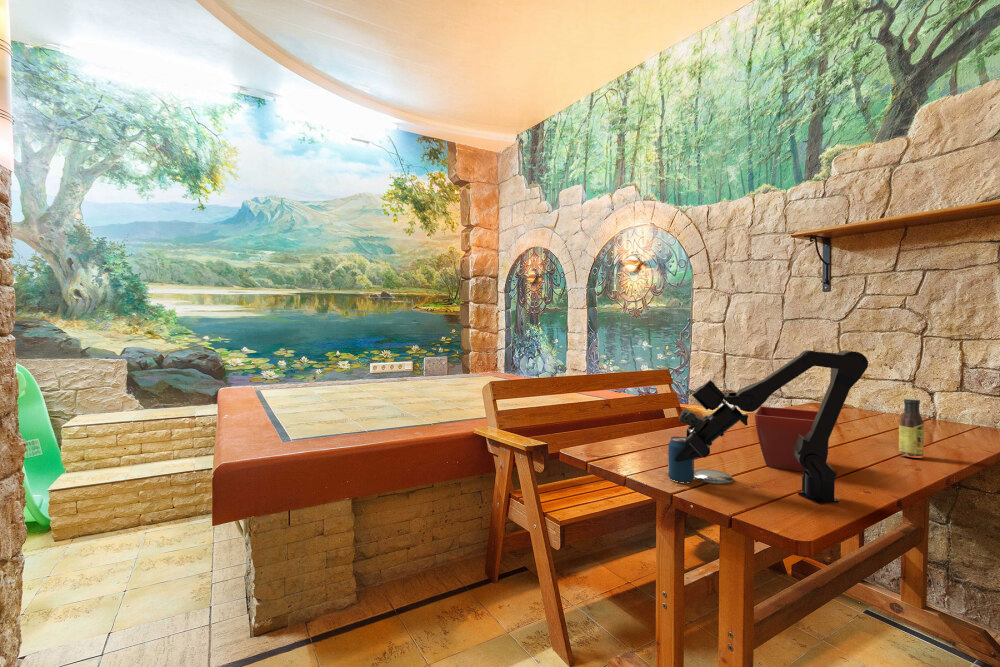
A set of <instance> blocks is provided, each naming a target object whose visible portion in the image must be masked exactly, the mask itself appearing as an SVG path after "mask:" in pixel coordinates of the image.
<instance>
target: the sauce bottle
mask: <svg viewBox="0 0 1000 667" xmlns="http://www.w3.org/2000/svg"><path fill="white" fill-rule="evenodd" d="M903 403H904V407H903V408H904V409H903V410H904V411H903V413H902V414H900V417H899V425H898V453H899V452H900V453H902V454H905V455H909V456H924V442H925V441H924V439H925V438H924V437H925V423H924V420H923V418H922V416H921V413H920V404H921V400H920V399H919V398H904V399H903Z"/></svg>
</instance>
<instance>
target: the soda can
mask: <svg viewBox="0 0 1000 667" xmlns="http://www.w3.org/2000/svg"><path fill="white" fill-rule="evenodd" d="M686 437H687V436H672V437H670V440H669V442H668V450H667V451H668V454H667V456H668V457H667V458H668V462H667V466H668V467H667V475H668V477H669V479H670V480H671V479H672V480H675V481H678V482H684V483H687V482H691V483H692V482H693V481H694V480H695V479H694V470H695V458H694V459H689V460H685V461H680V462H676V461H675V460H674V459H675V457H676V456H677V455H678V454H679V453H680V451H681V450H682V449H683V448H684V447H685V445H686ZM672 480H671V481H672Z"/></svg>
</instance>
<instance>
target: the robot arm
mask: <svg viewBox="0 0 1000 667" xmlns="http://www.w3.org/2000/svg"><path fill="white" fill-rule="evenodd" d="M812 367H820V368H828V369H830V381H829V384H828V387H827V388H826V392H825V394H824V396H823V399H822V401H821V402H820V406H819V408H818V410H817V411H818V413H817V415H816V417H815V420H814V422H813V425H812V427H811V429H810V431H809V433H808V434H807V435H806V436H805V437H803V436H801V435H798V438H797V443H796V444H795V445H794V446H793V449H794V450H795V452H794V454H795V457H796V459H797V460H798V462H799V463H800V464H801V466H802V467H803V468H804V469H806V470H807V471H803V472H802V476H801V491H799V492H797V495H798V496H800V497H803V498H805V499H807V500H809V501H812V502H814V503H816V504H819V505H821V504H823V505H824V504H831V503H840V499H838V498H836V497H835V488H836V487H835V485H836V481H835V480H836V478H837V475H838V473H837V472H836V471H835V470H834V468H832V467H831V466H830V465H829V463H828V462H827V460H828V454H829V441H830V437H831V435H832V434H833V433H832V432H833V430H834V428H835V425H836V423H837V420H838V419H839V416H840V414H841V411H842V409H843V406H844V404H845V402H846V400H847V397H848V395H849V393H850V390H851V389H852V388H853V386H854V385H855V384H856V383H857V382H858V381H859V380H860V379H862V378H861V377H863V375H864V373H865V372H866V371H867V369H868V367H869V360H868V359H867V357H866V356H865V355H864V354H863V353H861V352H858V351H854V350H849V349H848V350H841V351H838V352H835V353H834V352H827V351H826V352H825V351H815V350H812V349H811V350H810V349H808V350H807V349H806V350H804V351H802V352H800V354H799V355H796V357H794V358H793V359H791V360H790V361H788V362H787V363H785V364H784V365H782V366H781V367H780V368H778V369H777V370H775V371H773V372H772V373H771V374H769V375H768V376H766V377H764V378H763V379H761V380H759V381H757V382H754V383H752V384H749V385H746V386H744V387H742V388H740V389H738V390H737V391H735V392H723V391H722V390H721V389H720V388H719V387H718V386H717V385H716V383H715V382H714V381H713V380H712V379H709V380H708V381H706V382H705V383H704V384H702V385H700V386H699V387H697V388H696V390H694V391H693V392H692V393H691V396H692V397H693V399H695V401H697V403H699V404H700V406H702V408H703V409H705V410H706V411H707V410H710V411H713V412H712V413H711V414H710V415H705V416H704V417H701V416H699V415H698V414H696V413H694V412H692V411H691V410H688V409H687V408H683V409H682V411H681V413H680V415H679V417H678V422H681V423H683V424H686V425H688V426H687V429H686V436H685V437H686V445H685V447H684V448H683V449H682V450H681V451H680V453H679V454H678V455H677V456H676V457H675V459H674V460H675V461H676V462H680V461H685V460H689V459H694V460H695V459H698V458H706V457H708V456H710V454H711V446H712V445H713V442H715V441H716V440H717V439H718V438H720V437H724V436H725V433H726V432H727V431H729V429H731V428H732V427H733V426H735V425H736V424H737V423H739V422H741V423H742V424H743V425H744V426H748V425H749V424H748V423H749V422H748V418H749V414H747V413H753V412H755V411H757V410H758V409H759V408H760V407H762V406H763V404H765V402H767V401H768V399H769V398H770V397H771V395H772V394H774V393H775V392H776V391H778V390H779V389H781V388H783V387H784V386H785V385H787V384H788V383H790V382H791V381H793V380H794V379H797V377H799V376H800V375H802V374H804V373H805V372H807V371H809V369H811V368H812ZM730 405H731V406H730ZM737 407H738V408H739V409H740V410H739V409H738V408H737ZM714 410H715V411H714ZM741 411H743V412H745V413H743V412H741Z"/></svg>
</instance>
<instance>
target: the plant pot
mask: <svg viewBox="0 0 1000 667" xmlns="http://www.w3.org/2000/svg"><path fill="white" fill-rule="evenodd" d="M817 413H818V410H817V411H815V410H808V409H807V410H806V409H796V408H785V407H773V406H772V407H771V406H760V407H759V408H758V409H757V410H756V412H755V413H754V421H755V428H756V434H757V438H758V443H759V446H760V450H761V453H762V456H763V460H764V463H765V465H766V466H767V467H769V468H770V467H772V468H776V469H783V470H790V471H797V472H802V473H803V471H807V470H806V469H804V468H803V467H802V466H801V464H800V463H799V462H798V460H797V459H796V457H795V454H794V452H795V450H794V449H793V446H794V445H795V444H796V443H797V438H798V435H801V436H803V437H805V436H806V435H807V434H808V433H809V431H810V429H811V427H812V425H813V422H814V420H815V417H816V415H817Z"/></svg>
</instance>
